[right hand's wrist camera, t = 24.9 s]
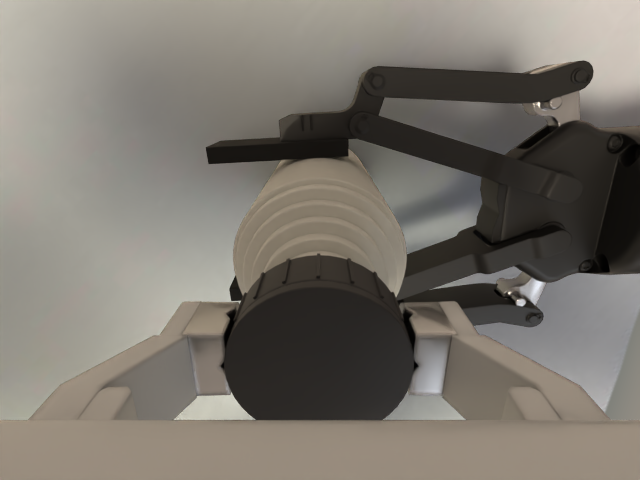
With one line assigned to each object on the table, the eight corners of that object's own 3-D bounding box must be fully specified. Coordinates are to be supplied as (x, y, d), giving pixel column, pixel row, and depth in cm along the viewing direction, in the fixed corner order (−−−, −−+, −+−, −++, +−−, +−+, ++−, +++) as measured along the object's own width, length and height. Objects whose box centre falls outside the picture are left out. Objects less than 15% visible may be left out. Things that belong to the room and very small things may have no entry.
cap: (406, 251, 9) (425, 284, 8) (394, 390, 11) (407, 441, 9) (230, 251, 9) (211, 284, 8) (245, 390, 11) (231, 441, 9)
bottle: (287, 126, 24) (216, 188, 8) (382, 156, 24) (499, 273, 8) (263, 217, 26) (168, 413, 10) (349, 243, 27) (393, 465, 11)
